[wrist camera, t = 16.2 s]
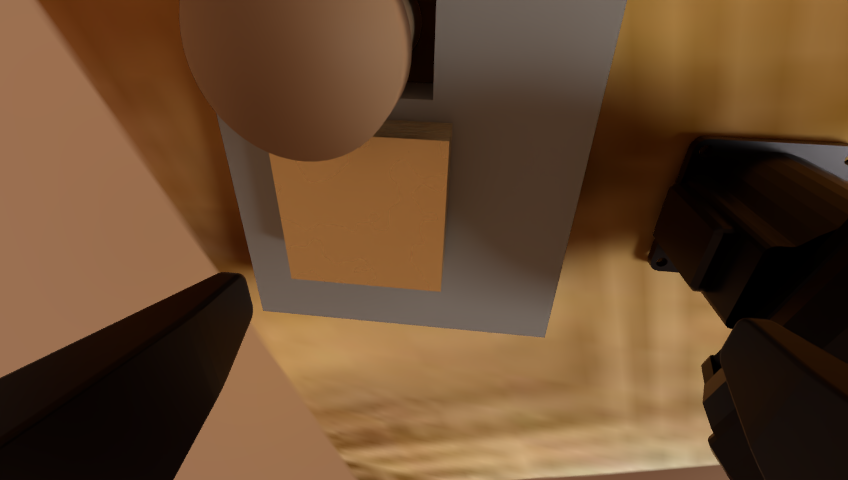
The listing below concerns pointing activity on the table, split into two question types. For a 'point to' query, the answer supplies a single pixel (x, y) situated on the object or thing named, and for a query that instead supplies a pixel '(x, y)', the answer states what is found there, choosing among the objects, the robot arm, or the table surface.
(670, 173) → the table surface
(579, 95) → the base plate
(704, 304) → the table surface
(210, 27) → the birch peg
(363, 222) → the brass cover
